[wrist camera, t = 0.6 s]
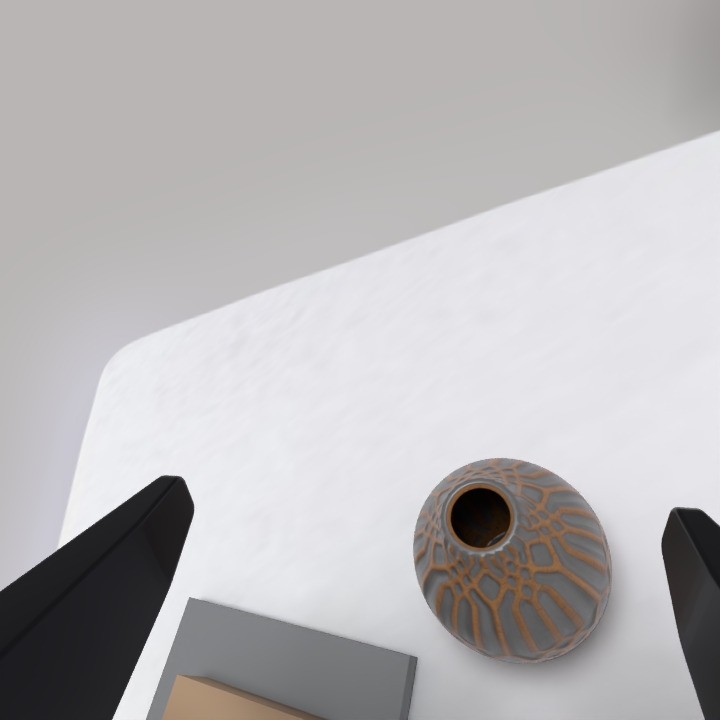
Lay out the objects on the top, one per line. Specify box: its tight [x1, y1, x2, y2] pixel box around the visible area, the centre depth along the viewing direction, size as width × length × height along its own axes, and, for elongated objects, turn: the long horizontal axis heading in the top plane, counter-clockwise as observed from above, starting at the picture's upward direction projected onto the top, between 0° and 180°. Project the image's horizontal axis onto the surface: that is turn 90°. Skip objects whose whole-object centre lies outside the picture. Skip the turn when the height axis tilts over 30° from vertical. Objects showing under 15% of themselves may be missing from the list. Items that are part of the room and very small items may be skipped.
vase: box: [413, 458, 612, 663], centre depth 19 cm, size 7×7×9 cm
